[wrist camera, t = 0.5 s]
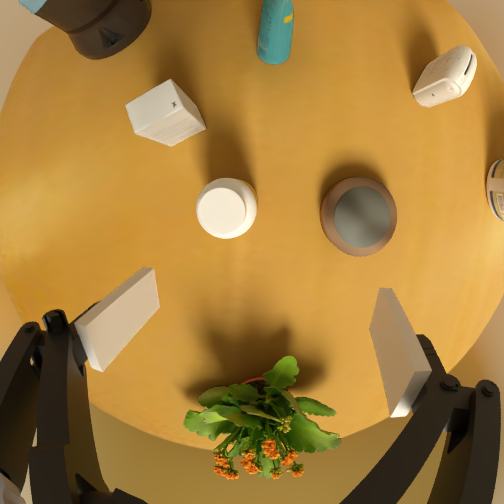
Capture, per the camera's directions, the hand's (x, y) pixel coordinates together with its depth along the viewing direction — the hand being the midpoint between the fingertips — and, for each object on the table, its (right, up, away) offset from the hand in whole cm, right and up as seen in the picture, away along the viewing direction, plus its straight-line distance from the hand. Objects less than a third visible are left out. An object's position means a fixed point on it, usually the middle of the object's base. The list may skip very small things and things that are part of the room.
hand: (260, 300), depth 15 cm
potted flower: (+2, -23, +31) cm, 39 cm away
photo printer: (+29, +31, +17) cm, 46 cm away
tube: (+3, +32, +18) cm, 37 cm away
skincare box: (-10, +21, +21) cm, 31 cm away
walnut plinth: (+15, +8, +23) cm, 28 cm away
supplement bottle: (-3, +10, +23) cm, 26 cm away
